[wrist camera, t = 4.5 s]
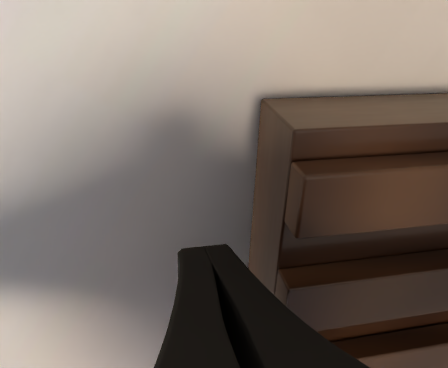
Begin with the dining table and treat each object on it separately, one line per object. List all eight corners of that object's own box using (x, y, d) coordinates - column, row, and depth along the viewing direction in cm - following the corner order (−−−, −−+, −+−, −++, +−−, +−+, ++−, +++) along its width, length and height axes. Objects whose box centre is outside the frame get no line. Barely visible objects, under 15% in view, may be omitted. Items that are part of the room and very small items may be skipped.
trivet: (242, 341, 15) (269, 426, 12) (260, 98, 11) (308, 144, 8) (454, 307, 17) (520, 375, 14) (541, 89, 13) (660, 125, 10)
